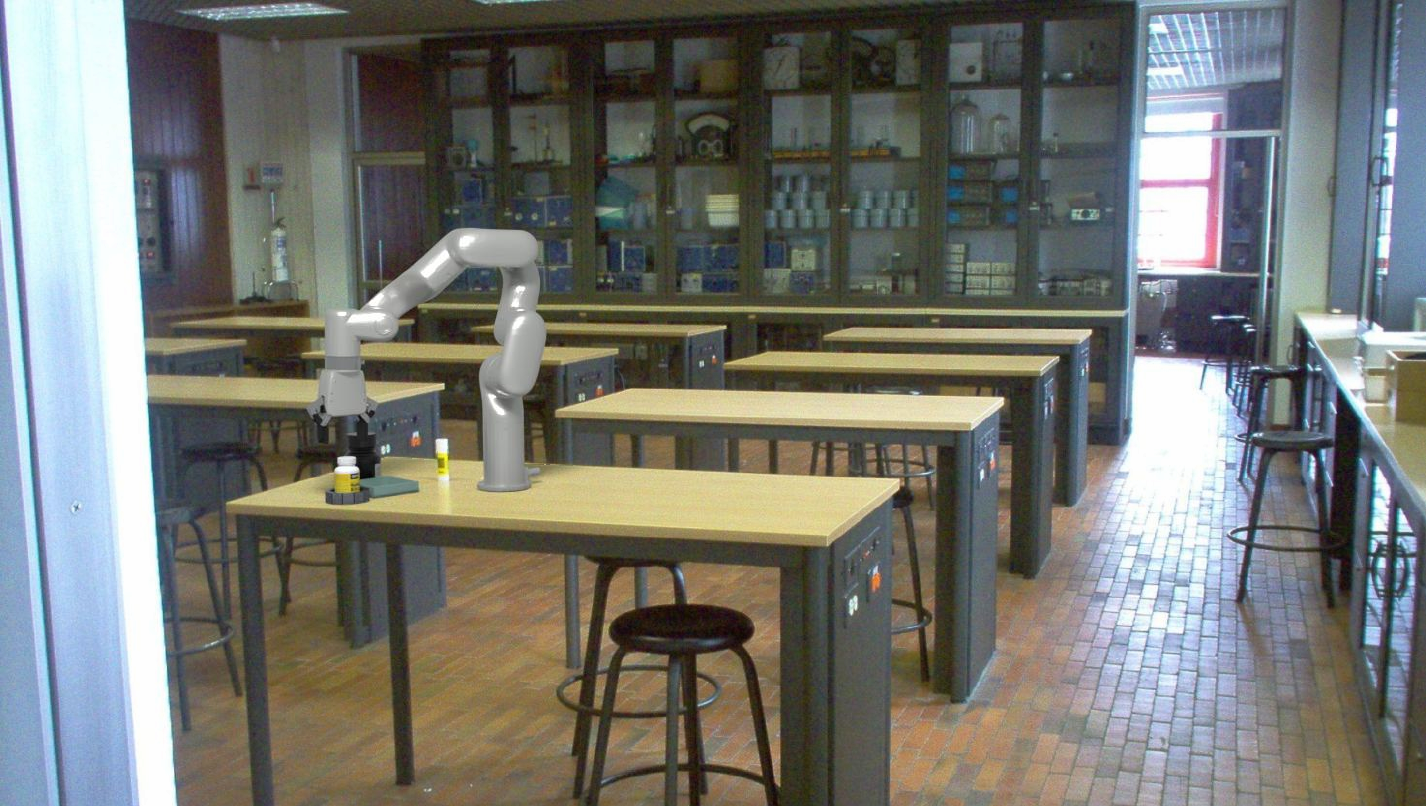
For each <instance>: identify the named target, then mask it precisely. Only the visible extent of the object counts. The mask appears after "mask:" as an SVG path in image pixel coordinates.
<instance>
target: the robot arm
mask: <svg viewBox="0 0 1426 806" xmlns="http://www.w3.org/2000/svg"><path fill="white" fill-rule="evenodd" d="M538 255H539V244H538V241H537V239H536V237H535V236H534V235H532V234H531V232H528V231H526V230H522V229H492V228H491V229H490V228H477V227H466V228H465V227H464V228H463V227H461V228H456V229H453V230H451V231H450V232H449V233H447V234H446V235H445V236H443V237H442V238H441V239H440V240H439V241H438V242H437V243H436V244H434V246H432V248H431V249H429V250H428V251H427V252H426V253H424V255H423V256H421V258H419V259H418V260H417V261H416V262H415V263H414V264H413V265H412V266H410V267H409V268H408V269H407V270H405V271H404V272H402V273H401V274H400V275H399V276H398V277H396V279H393V281H392V282H390V283H389V284H388V285H386V286H385V287H384V288H383V289H380V291H379V292H377V293H376V294H375V295H374V296H373V297H372V298H370V300H369V301H368V302H367V303H365V304H364V305H363V306H362V307H361V308H360V309H355V308H349V307H347V308H346V307H341V308H339V307H336V308H329V309H327V310H326V312H325V314H324V370H321V372H320V376H319V381H318V387H317V399H316V400H314V401H313V402H311V403H309V404H308V405H306V411H307V413H308V415H309V418H310V419H311V420H312V421H313V422H314V424H315V425H316V426H317V427H316V428H317V430H316V431H317V440H318V444H322V445H329V443H330V437H329V436H330V431H329V429H330V428H329V425H327V424H328V423H329V421H330V420H331V418H333V417H334V418H335V417H336V418H337V417H351V416H355V417H356V419H357V420H358V421H356V432H357V439H358V440H362V441H367V436H368V432H369V423H370V422H371V420H372V418H373V417H374V416H375V413H376V411H377V408H378V406H379V403H378V401H376V400H375V399H372V398H371V397H368V396H367V387H366V379H365V374H364V371H363V370H361V368H362V365H365V363H366V360H365V359H364V358H362V356H361V341H366V342H367V341H369V342H375V343H384V342H388V341H390V340H392V339H393V338H395V336H396V335H397V334H398V331H399V326H400V325H399V318H401V317H402V316H403V315H405V314H407V312H409V311H410V310H412V309H414V308H415V307H417V306H419V305H422V304H423V303H426V302H428V301H430V300H432V299H434V298H435V297H437V296H439V294H440V293H442V292H443V290H445V289H446V288H447V287H448V286H449V285H450V284H451V283H452V282H453V281H454V280H455V279H456V278H457V277H459V276H460V275H461V274H462V273H463V272H464V271H466V269H467V268H468V267H470V266H471V267H484V268H489V267H490V268H499V270H500V272H501V276H502V281H503V282H502V289H501V296H500V301H499V305H498V309H497V313H496V318H495V321H494V326H493V336H494V338H495V340H496V342H497V343H498V344H499V345H501V346H502V350H501V352H496V353H494V354H492V355H489V356H488V357H487V358H485V360H483V362H482V364H481V365H480V368H479V372H478V373H479V374H478V380H479V389H480V395H481V404H482V405H481V408H482V457H483V458H482V460H483V462H482V463H483V480H480V481H478V482H477V483H476V487H477V488H476V489H479V490H480V491H481V490H482V491H487V492H515V491H516V492H517V491H521V490H527V489H530V488H531V487H532V481H531V480H529V478H531V477H536V476H540V475H541V469H540V468H539V467H538V466H537V467H531V468H529V467H528V466H525V427H524V425H525V423H524V422H525V417H524V415H525V414H524V413H525V411H524V402H523V396H525V395H527V394H529V393H530V392H531V391H532V390H533V388H534V386H535V384H536V383H537V382H536V381H537V378H538V376H539V372H540V367H541V364H542V358H543V355H544V354H543V353H544V351H545V346H546V342H547V341H546V340H547V325H546V323H545V320H544V319H543V317H542V316H541V315H540V314H539V313H538V312H536V311H537V306H538V301H539V300H538V299H539V295H540V291H541V290H540V289H541V279H540V273H539V270H538V267H537V264H536V262H535V261H536V260H537V258H538ZM367 406H368V407H367Z"/></svg>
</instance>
